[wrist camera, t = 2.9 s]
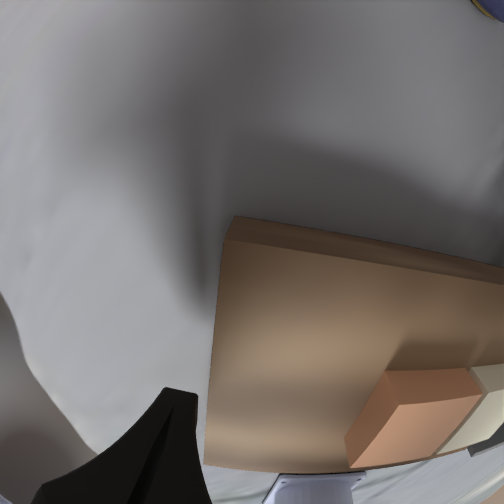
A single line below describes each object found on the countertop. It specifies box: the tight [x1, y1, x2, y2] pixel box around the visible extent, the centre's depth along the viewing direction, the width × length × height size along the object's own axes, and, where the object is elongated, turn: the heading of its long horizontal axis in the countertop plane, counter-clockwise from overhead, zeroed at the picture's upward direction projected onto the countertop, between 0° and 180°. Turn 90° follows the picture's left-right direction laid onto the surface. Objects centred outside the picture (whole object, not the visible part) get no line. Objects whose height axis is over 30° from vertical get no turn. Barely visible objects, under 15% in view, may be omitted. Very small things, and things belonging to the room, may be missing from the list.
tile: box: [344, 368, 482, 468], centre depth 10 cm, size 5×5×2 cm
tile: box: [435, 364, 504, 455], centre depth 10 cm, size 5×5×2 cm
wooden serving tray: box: [203, 216, 504, 473], centre depth 13 cm, size 14×20×3 cm
